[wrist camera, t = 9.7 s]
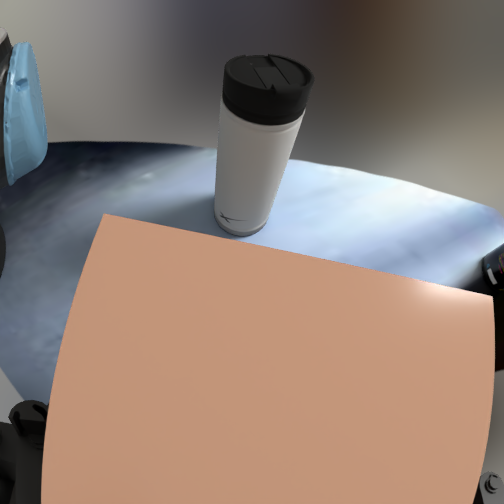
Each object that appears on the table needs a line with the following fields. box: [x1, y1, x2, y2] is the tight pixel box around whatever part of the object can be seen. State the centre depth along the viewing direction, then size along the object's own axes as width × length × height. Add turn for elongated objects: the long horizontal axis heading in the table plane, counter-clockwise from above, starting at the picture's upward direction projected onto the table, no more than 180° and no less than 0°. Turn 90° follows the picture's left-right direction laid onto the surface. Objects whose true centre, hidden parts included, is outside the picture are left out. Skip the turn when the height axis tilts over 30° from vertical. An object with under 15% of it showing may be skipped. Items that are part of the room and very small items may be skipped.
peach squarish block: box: [41, 214, 495, 504], centre depth 9 cm, size 8×8×12 cm
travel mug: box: [214, 54, 314, 236], centre depth 27 cm, size 6×7×20 cm
